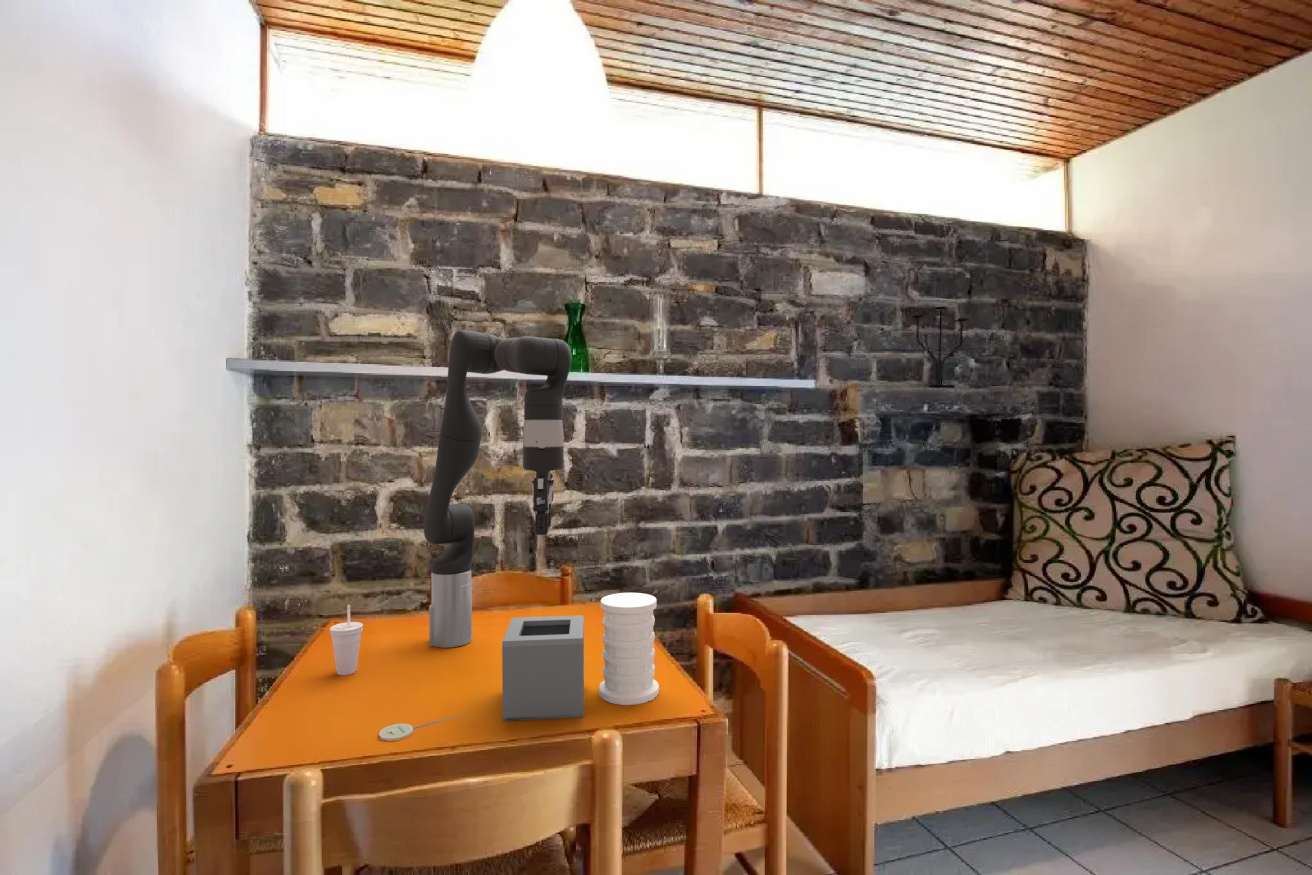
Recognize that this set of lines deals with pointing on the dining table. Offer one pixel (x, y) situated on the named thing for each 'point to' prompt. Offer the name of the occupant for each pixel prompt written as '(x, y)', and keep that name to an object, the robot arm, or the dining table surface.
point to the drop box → (543, 668)
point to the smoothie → (346, 645)
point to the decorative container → (628, 649)
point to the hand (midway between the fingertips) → (543, 530)
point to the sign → (402, 730)
